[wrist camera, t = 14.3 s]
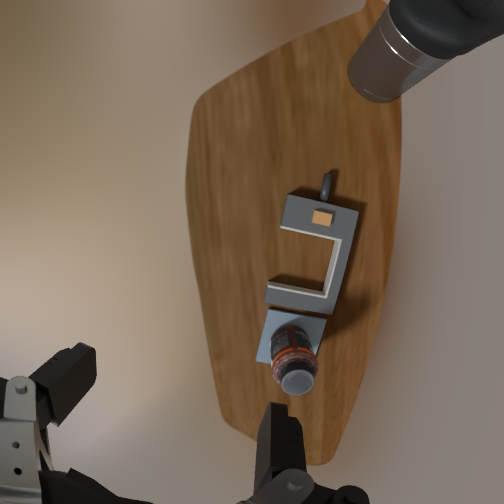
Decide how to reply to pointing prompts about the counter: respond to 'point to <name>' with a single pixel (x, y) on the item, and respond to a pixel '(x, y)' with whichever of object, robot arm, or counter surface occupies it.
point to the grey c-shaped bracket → (323, 225)
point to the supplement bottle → (293, 359)
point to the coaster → (281, 318)
